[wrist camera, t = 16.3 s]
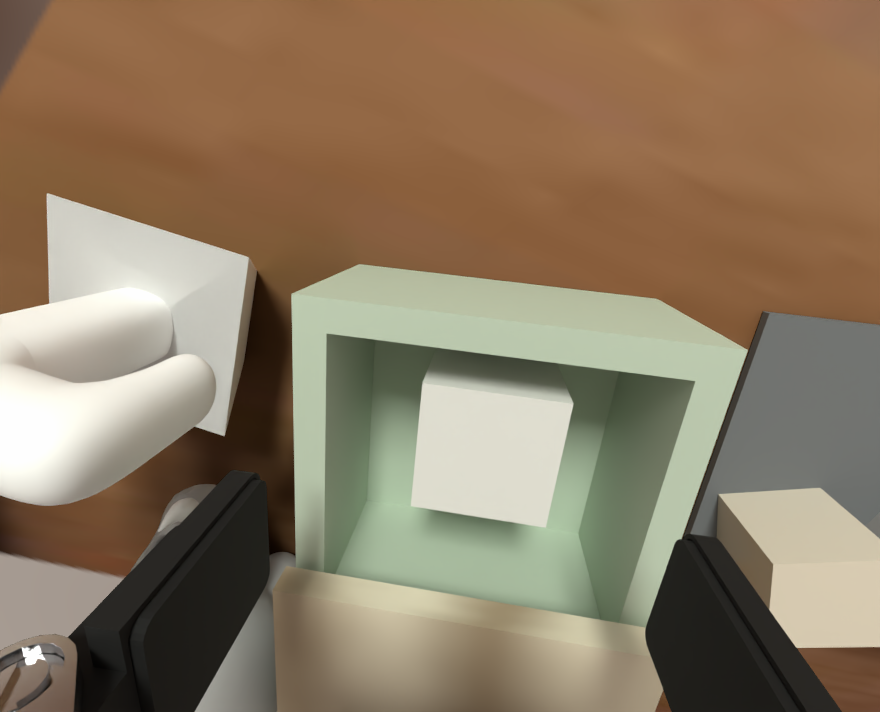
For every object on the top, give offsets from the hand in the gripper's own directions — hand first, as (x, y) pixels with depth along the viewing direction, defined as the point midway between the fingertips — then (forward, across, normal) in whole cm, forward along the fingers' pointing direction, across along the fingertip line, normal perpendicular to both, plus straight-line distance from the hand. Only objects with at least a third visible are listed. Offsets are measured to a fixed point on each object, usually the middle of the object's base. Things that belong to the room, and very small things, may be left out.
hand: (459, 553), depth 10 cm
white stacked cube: (+9, -1, 0) cm, 9 cm away
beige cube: (+9, -14, +5) cm, 17 cm away
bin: (+10, -1, +5) cm, 11 cm away
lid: (+3, -1, +11) cm, 11 cm away
